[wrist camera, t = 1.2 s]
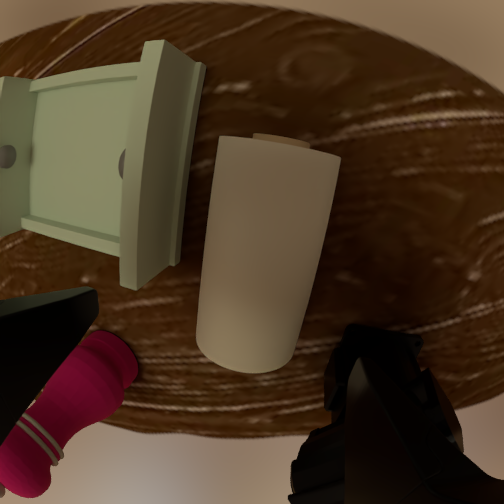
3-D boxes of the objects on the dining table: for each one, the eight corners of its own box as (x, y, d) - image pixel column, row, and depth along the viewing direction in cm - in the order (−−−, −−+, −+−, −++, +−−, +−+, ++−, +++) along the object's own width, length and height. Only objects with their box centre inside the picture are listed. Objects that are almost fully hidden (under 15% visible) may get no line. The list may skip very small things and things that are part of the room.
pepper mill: (88, 311, 25) (-61, 437, 6) (149, 351, 25) (15, 520, 6) (84, 359, 28) (-29, 473, 9) (137, 394, 27) (37, 533, 9)
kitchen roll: (236, 134, 18) (203, 123, 12) (335, 152, 17) (351, 148, 11) (211, 310, 22) (180, 361, 16) (295, 329, 22) (289, 387, 16)
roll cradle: (206, 66, 17) (171, 39, 12) (179, 261, 21) (142, 292, 16) (38, 83, 19) (-4, 79, 14) (28, 221, 24) (-12, 235, 19)
